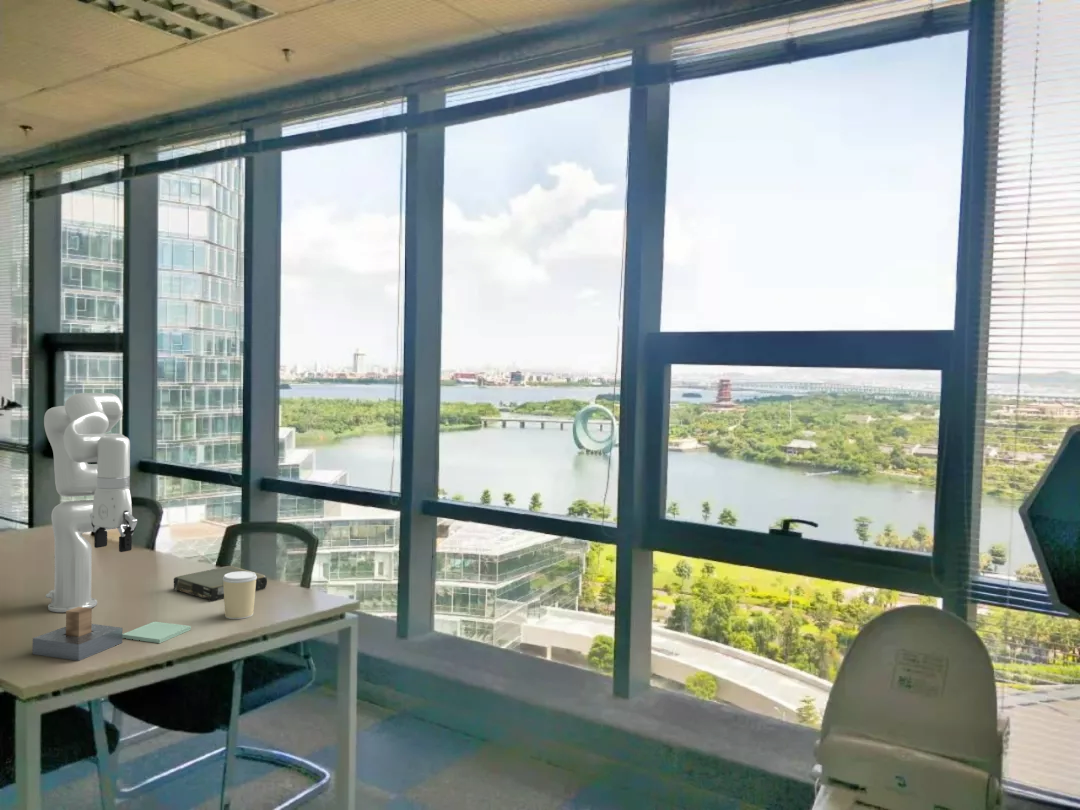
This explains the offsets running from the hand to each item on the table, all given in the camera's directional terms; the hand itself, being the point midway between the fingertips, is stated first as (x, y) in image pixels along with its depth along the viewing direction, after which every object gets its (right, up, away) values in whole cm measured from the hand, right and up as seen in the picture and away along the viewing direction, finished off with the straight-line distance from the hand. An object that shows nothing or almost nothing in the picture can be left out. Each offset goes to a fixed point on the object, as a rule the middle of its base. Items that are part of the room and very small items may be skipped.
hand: (112, 549), depth 209 cm
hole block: (-6, -25, -5) cm, 26 cm away
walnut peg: (-6, -25, -5) cm, 26 cm away
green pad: (+8, -25, +8) cm, 27 cm away
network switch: (+7, -24, +54) cm, 59 cm away
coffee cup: (+23, -25, +27) cm, 43 cm away
